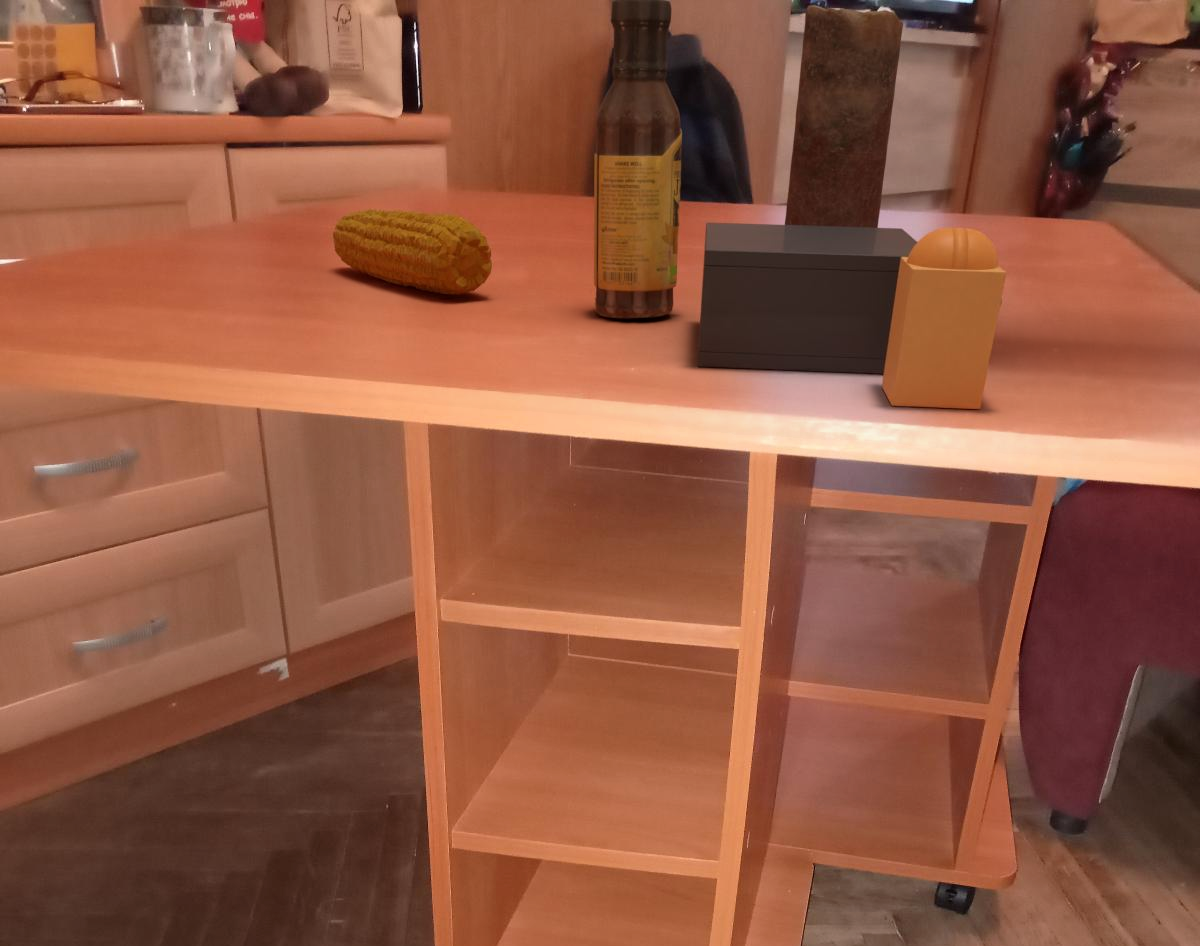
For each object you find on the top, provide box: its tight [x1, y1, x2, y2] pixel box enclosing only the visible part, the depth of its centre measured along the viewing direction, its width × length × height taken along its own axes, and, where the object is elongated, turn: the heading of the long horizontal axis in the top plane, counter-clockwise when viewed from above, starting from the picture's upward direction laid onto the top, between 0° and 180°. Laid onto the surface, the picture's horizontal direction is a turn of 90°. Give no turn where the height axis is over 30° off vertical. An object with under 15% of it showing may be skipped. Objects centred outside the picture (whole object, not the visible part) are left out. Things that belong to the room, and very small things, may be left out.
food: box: [332, 208, 493, 295], centre depth 96 cm, size 21×6×6 cm, turn 41°
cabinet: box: [697, 222, 918, 375], centre depth 77 cm, size 14×14×7 cm
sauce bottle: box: [593, 0, 683, 320], centre depth 83 cm, size 6×6×20 cm
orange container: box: [881, 227, 1007, 410], centre depth 65 cm, size 5×5×9 cm
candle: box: [784, 4, 904, 228], centre depth 88 cm, size 8×7×20 cm
